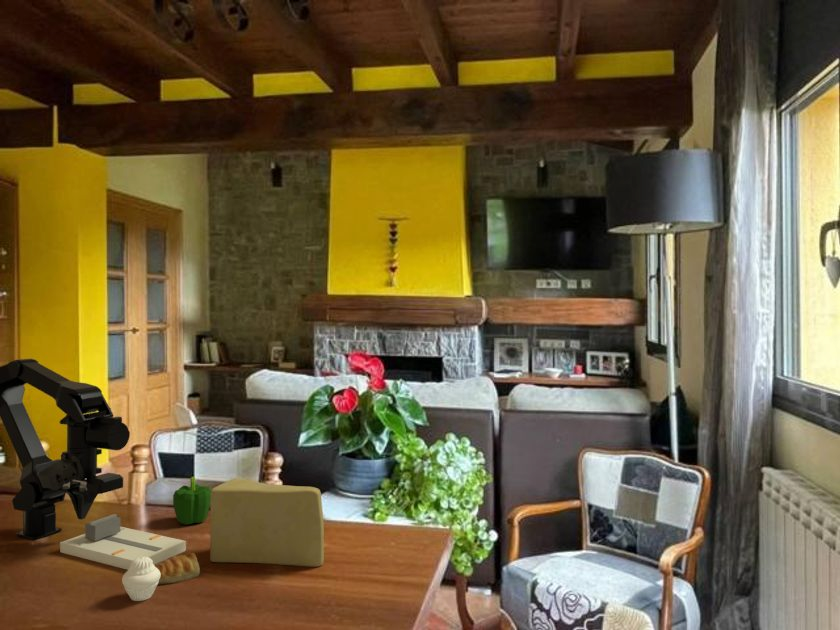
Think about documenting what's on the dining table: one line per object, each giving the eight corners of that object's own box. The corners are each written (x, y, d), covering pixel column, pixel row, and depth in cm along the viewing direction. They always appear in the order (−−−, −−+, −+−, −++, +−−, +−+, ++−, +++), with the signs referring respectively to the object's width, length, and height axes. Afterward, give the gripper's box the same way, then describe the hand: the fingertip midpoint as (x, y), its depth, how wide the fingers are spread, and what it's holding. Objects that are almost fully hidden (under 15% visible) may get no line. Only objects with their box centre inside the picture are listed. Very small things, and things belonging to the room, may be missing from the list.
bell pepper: (203, 528, 144) (204, 484, 144) (167, 527, 144) (168, 483, 144) (216, 516, 153) (216, 474, 153) (182, 515, 153) (182, 474, 153)
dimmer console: (60, 552, 129) (60, 541, 129) (111, 533, 140) (111, 523, 140) (137, 572, 120) (137, 560, 120) (185, 550, 131) (185, 540, 131)
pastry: (150, 591, 113) (150, 570, 113) (139, 579, 118) (139, 558, 118) (202, 577, 119) (203, 556, 119) (189, 566, 124) (189, 546, 124)
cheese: (332, 556, 129) (332, 483, 129) (312, 576, 119) (313, 496, 119) (233, 545, 134) (234, 474, 134) (207, 563, 125) (208, 487, 125)
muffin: (132, 588, 113) (132, 549, 113) (166, 589, 113) (166, 550, 113) (114, 605, 107) (115, 563, 107) (150, 606, 107) (151, 564, 107)
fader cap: (85, 538, 130) (85, 521, 130) (110, 529, 136) (110, 513, 136) (95, 540, 129) (95, 523, 129) (120, 531, 135) (120, 515, 135)
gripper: (16, 448, 132) (16, 523, 132) (77, 458, 124) (76, 538, 124) (66, 438, 142) (65, 508, 142) (125, 447, 134) (124, 521, 134)
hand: (81, 518), depth 135 cm, fingers closed
